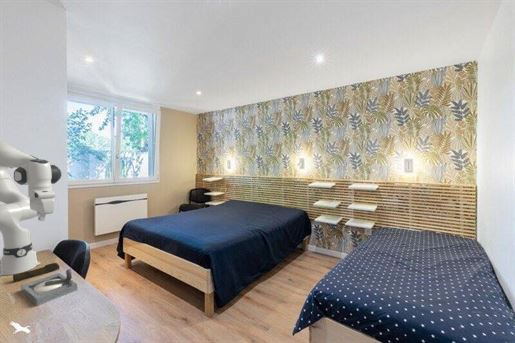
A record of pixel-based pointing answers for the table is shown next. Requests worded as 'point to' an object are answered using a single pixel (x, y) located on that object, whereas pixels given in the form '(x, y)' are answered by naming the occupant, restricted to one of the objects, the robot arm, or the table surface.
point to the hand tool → (36, 272)
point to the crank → (52, 283)
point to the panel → (49, 295)
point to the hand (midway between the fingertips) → (41, 220)
